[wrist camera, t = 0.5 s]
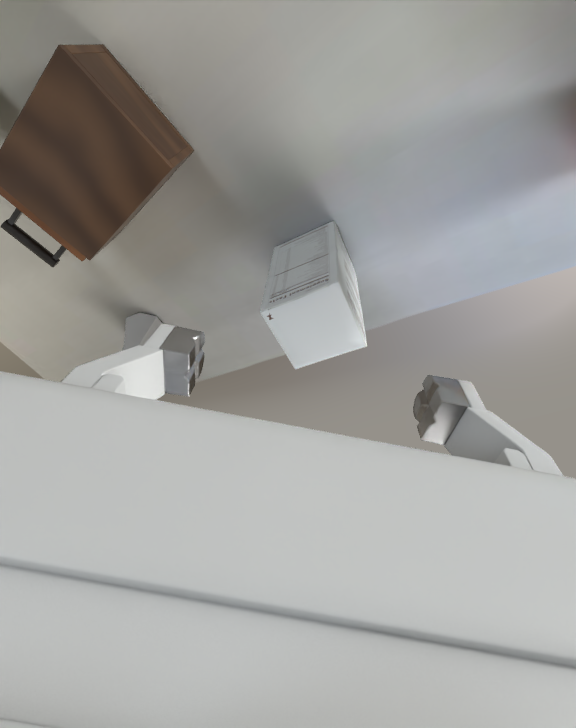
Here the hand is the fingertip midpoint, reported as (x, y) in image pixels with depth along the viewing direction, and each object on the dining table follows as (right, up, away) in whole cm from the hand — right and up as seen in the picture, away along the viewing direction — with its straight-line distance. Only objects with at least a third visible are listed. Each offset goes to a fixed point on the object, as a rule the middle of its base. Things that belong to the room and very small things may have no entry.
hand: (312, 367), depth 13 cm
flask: (-25, +6, +50) cm, 56 cm away
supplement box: (+3, +15, +39) cm, 42 cm away
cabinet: (-23, +26, +32) cm, 47 cm away
